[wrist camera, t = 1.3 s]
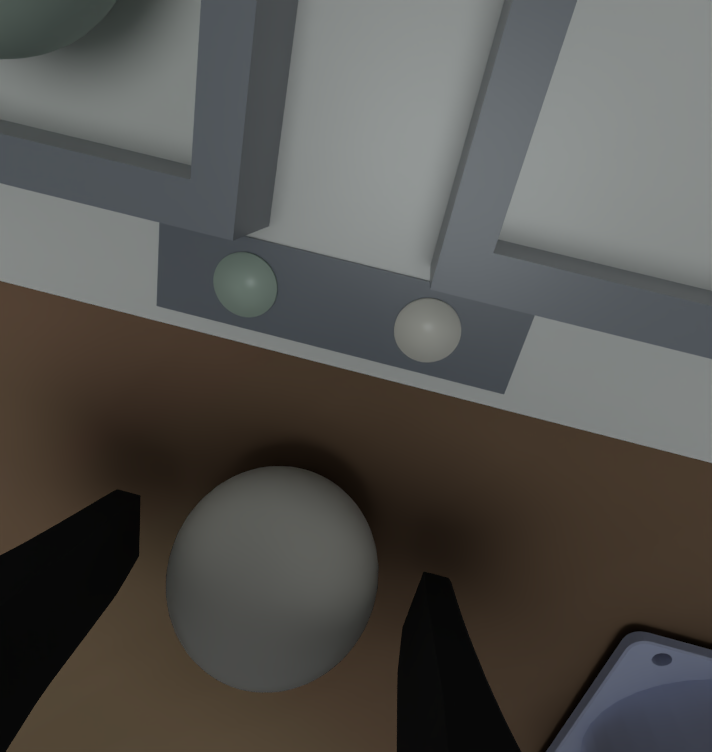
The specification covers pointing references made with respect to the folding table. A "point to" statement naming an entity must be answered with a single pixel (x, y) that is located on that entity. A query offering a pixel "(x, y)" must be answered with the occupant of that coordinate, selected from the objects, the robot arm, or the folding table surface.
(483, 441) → the folding table surface
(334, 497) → the ivory ball
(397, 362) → the ball sorting tray
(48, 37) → the sage ball
